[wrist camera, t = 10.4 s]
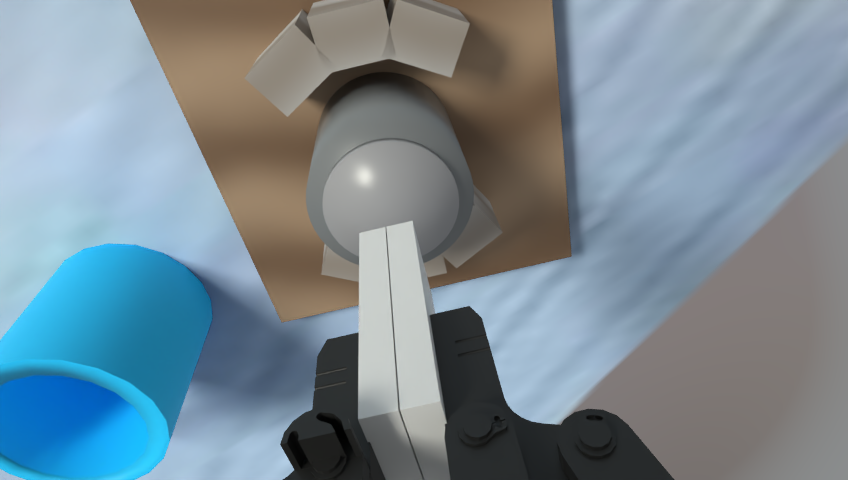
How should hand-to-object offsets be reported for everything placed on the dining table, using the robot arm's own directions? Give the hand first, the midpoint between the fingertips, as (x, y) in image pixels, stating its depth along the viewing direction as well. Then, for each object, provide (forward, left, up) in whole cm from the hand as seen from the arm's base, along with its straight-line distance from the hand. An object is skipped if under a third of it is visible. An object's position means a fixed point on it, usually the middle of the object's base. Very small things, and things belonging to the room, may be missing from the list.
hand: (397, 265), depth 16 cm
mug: (+8, -17, -12) cm, 22 cm away
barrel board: (0, 0, -11) cm, 11 cm away
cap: (0, 0, -10) cm, 10 cm away
